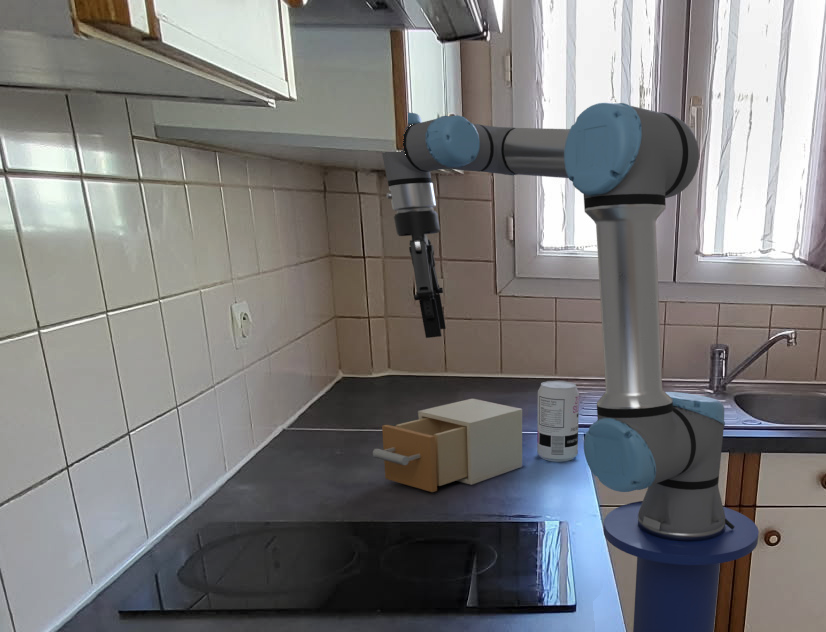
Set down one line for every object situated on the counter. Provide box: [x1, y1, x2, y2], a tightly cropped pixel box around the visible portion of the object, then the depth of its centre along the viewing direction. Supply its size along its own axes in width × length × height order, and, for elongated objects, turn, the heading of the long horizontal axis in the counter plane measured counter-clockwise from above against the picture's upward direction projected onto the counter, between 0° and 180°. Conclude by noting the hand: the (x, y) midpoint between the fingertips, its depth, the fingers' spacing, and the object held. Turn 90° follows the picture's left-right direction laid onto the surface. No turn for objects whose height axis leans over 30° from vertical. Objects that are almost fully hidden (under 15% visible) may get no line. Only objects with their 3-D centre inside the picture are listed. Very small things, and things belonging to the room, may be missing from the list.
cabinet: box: [417, 398, 523, 486], centre depth 157 cm, size 15×13×12 cm
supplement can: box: [536, 380, 580, 463], centre depth 167 cm, size 8×8×15 cm
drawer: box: [372, 417, 468, 493], centre depth 147 cm, size 18×11×10 cm, turn 150°
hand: (436, 333), depth 153 cm, fingers open, 13 cm apart
